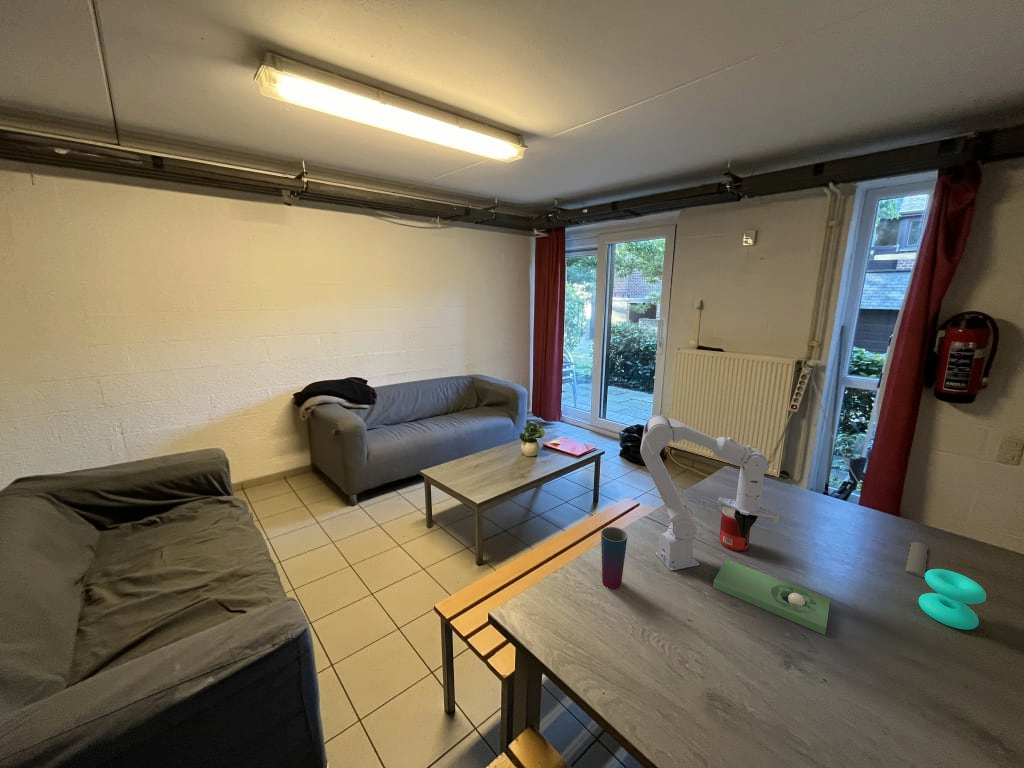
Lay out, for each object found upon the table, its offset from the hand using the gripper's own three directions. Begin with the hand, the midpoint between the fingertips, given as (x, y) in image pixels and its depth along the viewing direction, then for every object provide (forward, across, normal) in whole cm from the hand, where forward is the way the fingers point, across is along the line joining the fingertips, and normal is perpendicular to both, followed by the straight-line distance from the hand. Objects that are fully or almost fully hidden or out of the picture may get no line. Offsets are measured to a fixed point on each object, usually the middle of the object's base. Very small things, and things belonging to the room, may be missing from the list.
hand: (743, 536), depth 113 cm
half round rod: (+11, +39, +38) cm, 55 cm away
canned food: (+10, -4, +12) cm, 16 cm away
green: (+10, +8, -7) cm, 15 cm away
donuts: (+11, +42, +13) cm, 45 cm away
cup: (+11, -25, -29) cm, 40 cm away
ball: (+9, +14, -7) cm, 18 cm away
